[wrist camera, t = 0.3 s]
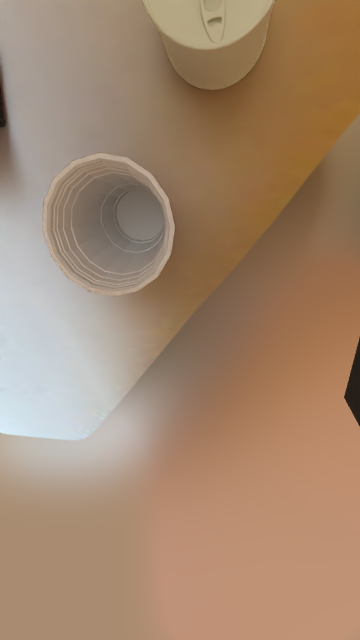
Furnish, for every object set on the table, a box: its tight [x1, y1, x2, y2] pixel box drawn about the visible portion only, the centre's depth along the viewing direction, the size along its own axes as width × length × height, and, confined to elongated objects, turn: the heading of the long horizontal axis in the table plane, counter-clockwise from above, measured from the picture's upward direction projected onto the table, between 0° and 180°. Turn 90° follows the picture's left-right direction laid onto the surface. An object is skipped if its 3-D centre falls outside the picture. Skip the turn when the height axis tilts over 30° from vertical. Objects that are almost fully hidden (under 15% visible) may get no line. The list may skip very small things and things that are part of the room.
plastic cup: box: [43, 153, 175, 296], centre depth 32 cm, size 11×11×12 cm
